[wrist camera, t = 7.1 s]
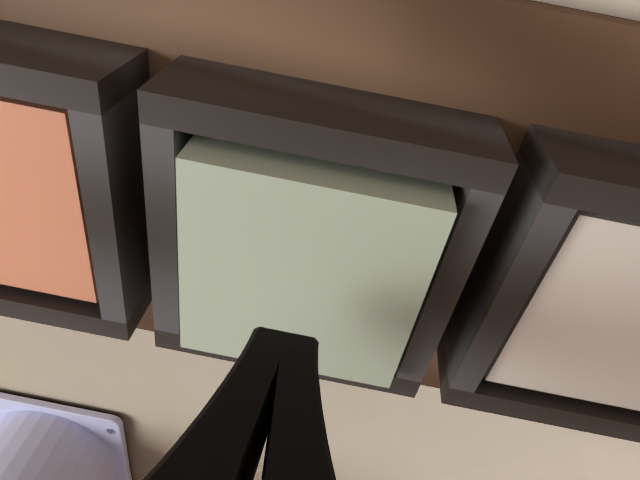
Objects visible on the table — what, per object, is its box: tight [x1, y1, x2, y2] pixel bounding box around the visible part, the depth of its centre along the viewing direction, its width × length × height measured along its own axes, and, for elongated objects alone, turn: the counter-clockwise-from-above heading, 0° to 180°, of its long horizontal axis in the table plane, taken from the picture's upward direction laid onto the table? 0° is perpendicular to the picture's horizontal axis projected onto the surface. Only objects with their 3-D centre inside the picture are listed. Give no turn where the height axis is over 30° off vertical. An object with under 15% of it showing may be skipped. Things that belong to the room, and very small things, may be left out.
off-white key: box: [484, 210, 640, 411], centre depth 14 cm, size 6×6×2 cm
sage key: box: [175, 134, 457, 388], centre depth 14 cm, size 6×6×2 cm
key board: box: [0, 0, 640, 442], centre depth 15 cm, size 14×30×4 cm, turn 81°
